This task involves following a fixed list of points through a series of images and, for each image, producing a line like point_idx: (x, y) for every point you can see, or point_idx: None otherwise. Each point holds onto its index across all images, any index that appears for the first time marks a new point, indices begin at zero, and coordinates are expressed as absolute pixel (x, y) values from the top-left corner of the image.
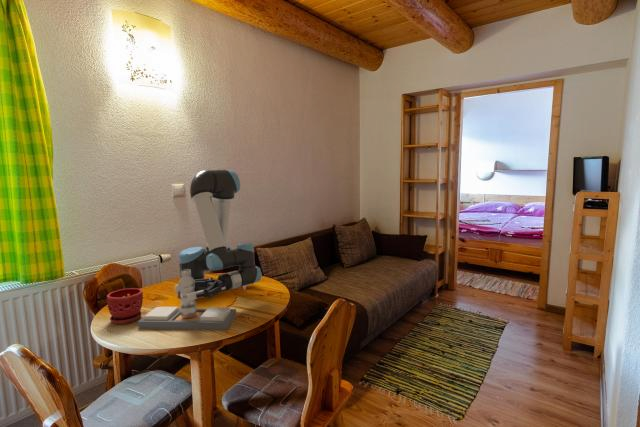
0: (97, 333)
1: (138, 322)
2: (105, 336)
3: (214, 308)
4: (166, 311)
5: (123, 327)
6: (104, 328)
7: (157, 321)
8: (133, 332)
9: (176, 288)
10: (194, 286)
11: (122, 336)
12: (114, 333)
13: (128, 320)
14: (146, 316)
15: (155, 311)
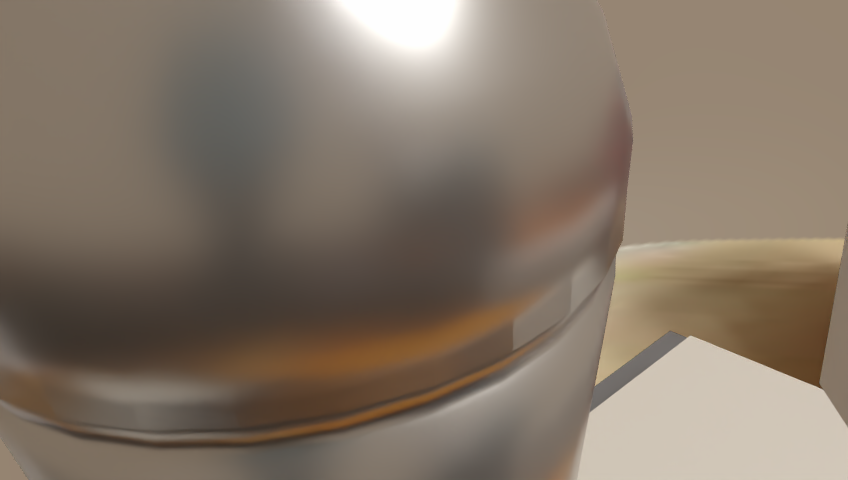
0: (744, 240)
1: (665, 342)
2: (655, 260)
3: None
4: None
5: (776, 333)
6: (826, 263)
7: None
8: (603, 364)
9: (846, 307)
10: (15, 452)
11: None
12: (676, 291)
13: None
14: (673, 349)
15: (800, 430)
